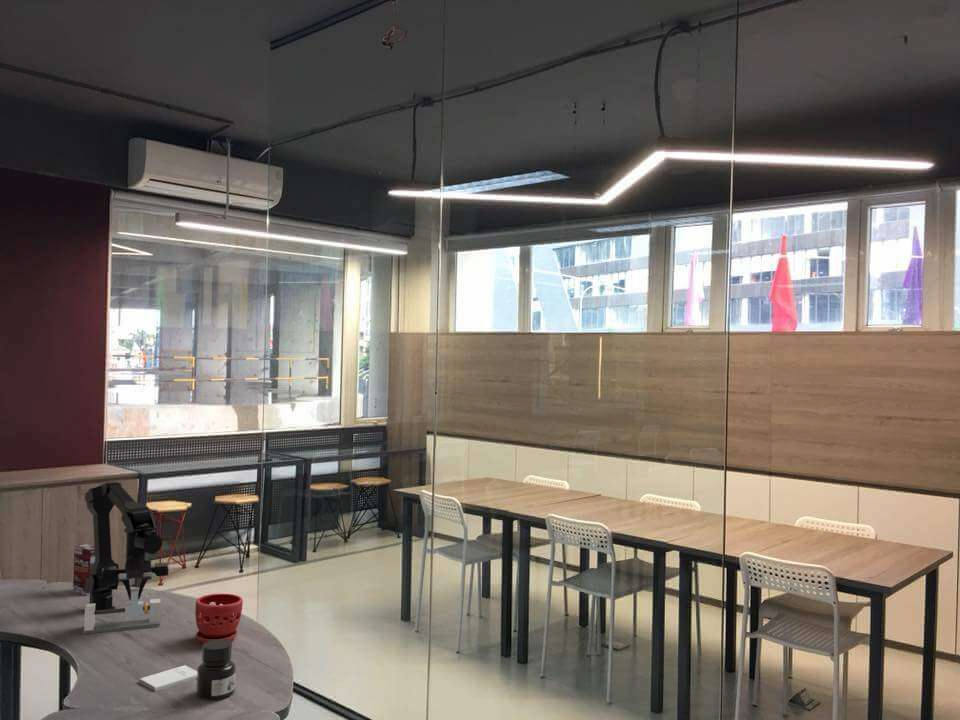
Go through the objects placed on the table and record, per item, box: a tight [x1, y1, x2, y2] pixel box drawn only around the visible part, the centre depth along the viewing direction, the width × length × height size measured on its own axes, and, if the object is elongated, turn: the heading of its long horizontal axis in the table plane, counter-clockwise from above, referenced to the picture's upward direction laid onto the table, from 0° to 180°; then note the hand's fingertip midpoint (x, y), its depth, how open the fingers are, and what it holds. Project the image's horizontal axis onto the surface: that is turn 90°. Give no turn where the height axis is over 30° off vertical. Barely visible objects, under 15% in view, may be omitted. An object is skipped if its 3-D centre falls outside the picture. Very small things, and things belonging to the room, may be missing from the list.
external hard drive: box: [138, 665, 197, 692], centre depth 197 cm, size 2×8×12 cm
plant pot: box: [194, 593, 244, 644], centre depth 227 cm, size 13×13×12 cm
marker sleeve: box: [124, 588, 144, 618], centre depth 237 cm, size 5×4×8 cm
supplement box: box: [72, 543, 95, 596], centre depth 270 cm, size 9×5×16 cm, turn 62°
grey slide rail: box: [82, 598, 161, 635], centre depth 236 cm, size 21×7×7 cm, turn 113°
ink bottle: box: [196, 640, 236, 701], centre depth 190 cm, size 10×9×12 cm
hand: (134, 599), depth 237 cm, fingers closed on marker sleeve, 2 cm apart
